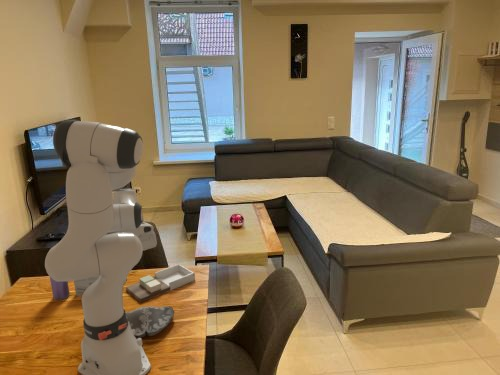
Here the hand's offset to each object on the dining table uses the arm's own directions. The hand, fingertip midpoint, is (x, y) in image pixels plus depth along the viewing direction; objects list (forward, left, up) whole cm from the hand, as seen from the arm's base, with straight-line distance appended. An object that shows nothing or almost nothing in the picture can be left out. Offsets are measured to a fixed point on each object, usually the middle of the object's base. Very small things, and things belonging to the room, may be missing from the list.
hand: (132, 264), depth 143 cm
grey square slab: (+3, -7, -15) cm, 17 cm away
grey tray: (+3, -19, -15) cm, 24 cm away
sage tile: (+6, -8, -14) cm, 16 cm away
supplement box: (+20, +6, -15) cm, 26 cm away
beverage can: (+24, +21, -15) cm, 35 cm away
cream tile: (0, -8, -14) cm, 15 cm away
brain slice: (-19, +5, -16) cm, 25 cm away
